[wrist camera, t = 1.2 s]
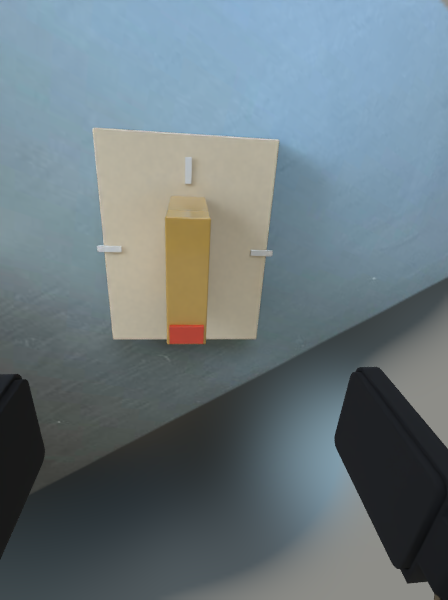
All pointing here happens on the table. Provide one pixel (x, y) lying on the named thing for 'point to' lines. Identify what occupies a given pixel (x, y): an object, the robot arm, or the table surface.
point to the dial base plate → (151, 224)
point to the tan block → (187, 269)
